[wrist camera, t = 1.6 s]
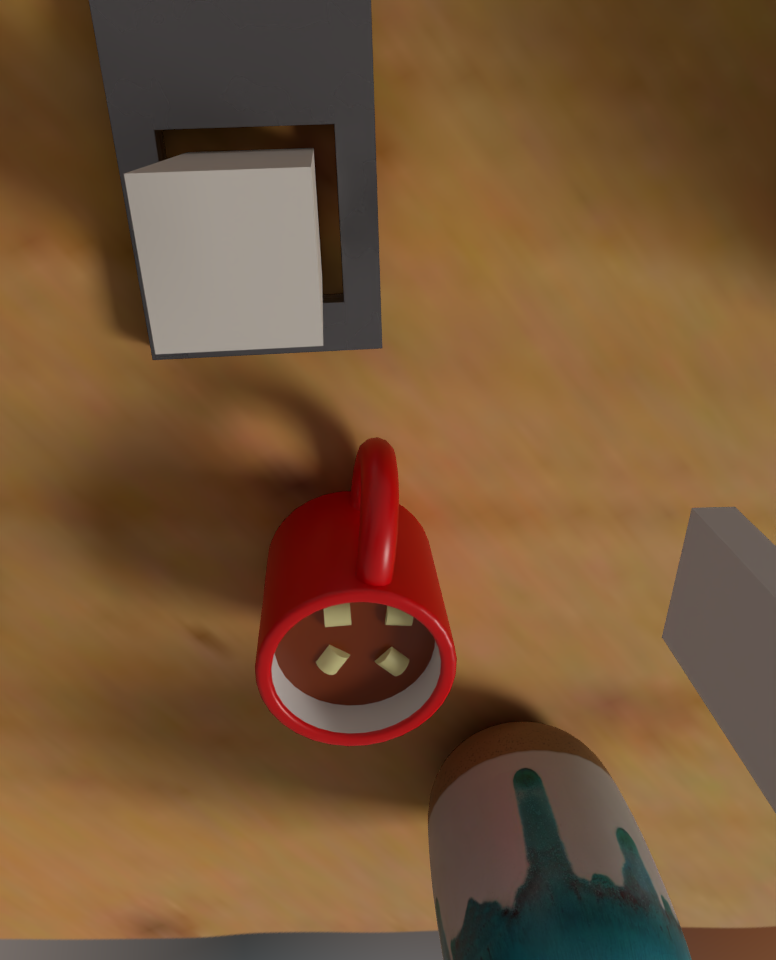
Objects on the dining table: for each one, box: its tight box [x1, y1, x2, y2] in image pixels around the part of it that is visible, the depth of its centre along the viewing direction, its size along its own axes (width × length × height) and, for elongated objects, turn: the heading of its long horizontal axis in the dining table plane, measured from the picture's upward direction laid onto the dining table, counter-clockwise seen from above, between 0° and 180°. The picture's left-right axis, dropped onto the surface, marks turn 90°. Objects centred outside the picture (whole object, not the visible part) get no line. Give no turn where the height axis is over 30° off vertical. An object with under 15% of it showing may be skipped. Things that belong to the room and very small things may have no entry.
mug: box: [255, 437, 457, 746], centre depth 31 cm, size 8×12×8 cm, turn 173°
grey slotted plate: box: [89, 0, 382, 360], centre depth 25 cm, size 9×22×2 cm, turn 1°
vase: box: [428, 722, 692, 960], centre depth 34 cm, size 11×11×19 cm
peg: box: [124, 148, 323, 354], centre depth 24 cm, size 5×5×10 cm
